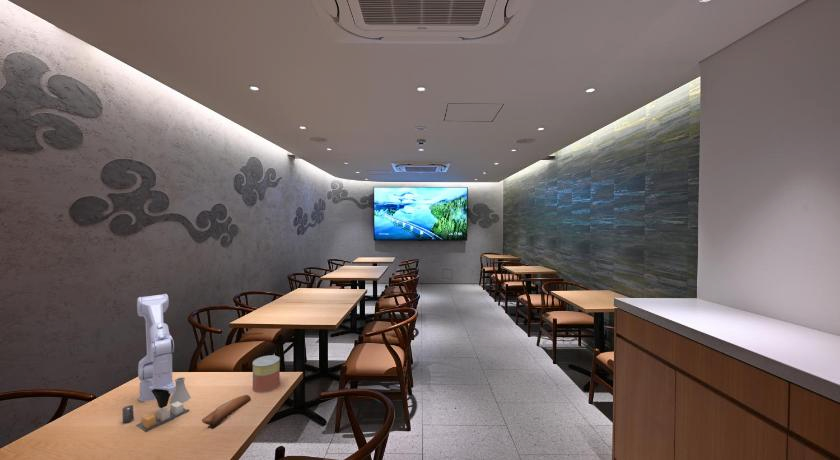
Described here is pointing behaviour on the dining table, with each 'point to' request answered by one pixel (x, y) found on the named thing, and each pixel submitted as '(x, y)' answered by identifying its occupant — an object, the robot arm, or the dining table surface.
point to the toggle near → (176, 408)
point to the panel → (159, 422)
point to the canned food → (266, 373)
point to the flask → (180, 392)
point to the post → (128, 414)
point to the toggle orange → (148, 420)
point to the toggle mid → (163, 414)
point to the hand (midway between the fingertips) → (163, 406)
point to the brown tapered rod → (225, 410)
